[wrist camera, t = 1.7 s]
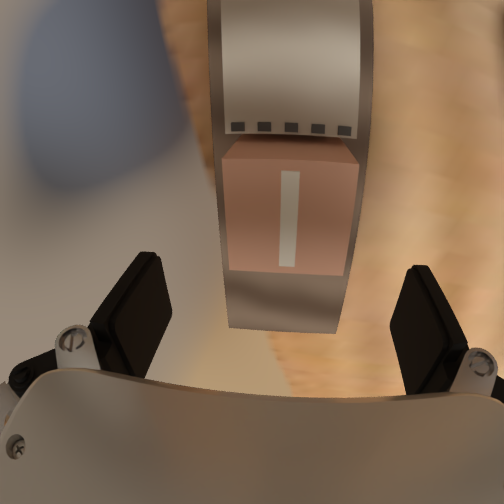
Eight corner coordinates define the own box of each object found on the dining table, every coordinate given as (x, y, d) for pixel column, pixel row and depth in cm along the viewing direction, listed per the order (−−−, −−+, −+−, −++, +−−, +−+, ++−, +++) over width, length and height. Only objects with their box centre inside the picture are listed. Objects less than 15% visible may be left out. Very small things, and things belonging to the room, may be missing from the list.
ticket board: (211, -93, 9) (194, -118, 6) (357, -91, 8) (368, -117, 4) (230, 320, 29) (222, 353, 25) (335, 325, 27) (338, 360, 24)
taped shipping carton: (242, 133, 18) (221, 159, 13) (339, 137, 17) (359, 164, 12) (245, 218, 21) (228, 271, 16) (331, 222, 20) (343, 277, 15)
